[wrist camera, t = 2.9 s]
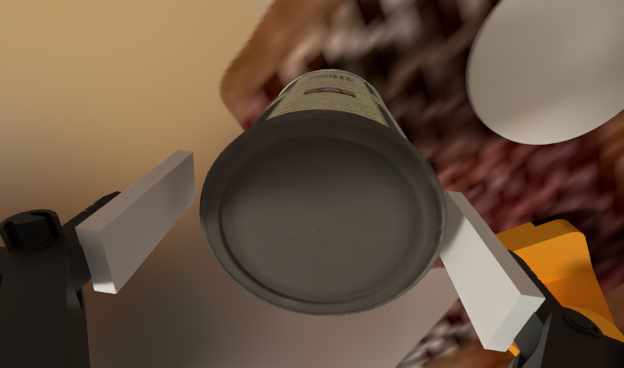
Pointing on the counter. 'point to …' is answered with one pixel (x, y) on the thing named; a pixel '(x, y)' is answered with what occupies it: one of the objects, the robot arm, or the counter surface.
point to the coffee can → (324, 201)
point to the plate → (547, 68)
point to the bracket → (562, 269)
